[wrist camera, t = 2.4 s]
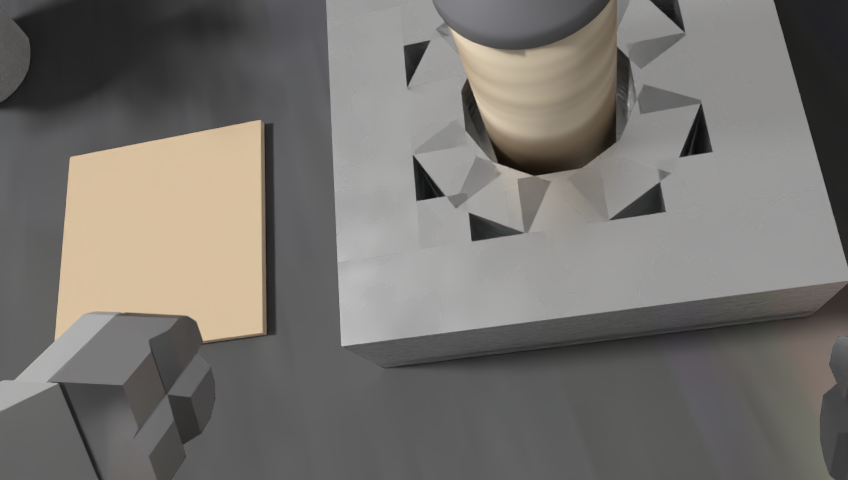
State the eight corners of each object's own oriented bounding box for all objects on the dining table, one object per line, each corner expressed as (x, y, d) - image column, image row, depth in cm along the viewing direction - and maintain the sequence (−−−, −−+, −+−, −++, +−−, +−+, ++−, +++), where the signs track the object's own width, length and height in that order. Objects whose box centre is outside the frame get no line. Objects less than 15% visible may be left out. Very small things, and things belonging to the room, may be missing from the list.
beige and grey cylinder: (631, 191, 29) (642, 7, 18) (497, 213, 30) (429, 51, 19) (610, 74, 31) (607, -161, 20) (484, 97, 32) (414, -113, 21)
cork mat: (266, 334, 32) (262, 332, 31) (59, 362, 34) (53, 361, 33) (264, 123, 35) (260, 119, 35) (75, 160, 37) (70, 157, 37)
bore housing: (811, 315, 27) (851, 280, 22) (383, 368, 30) (341, 346, 26) (717, -48, 32) (735, -138, 28) (362, 28, 35) (324, -40, 31)
